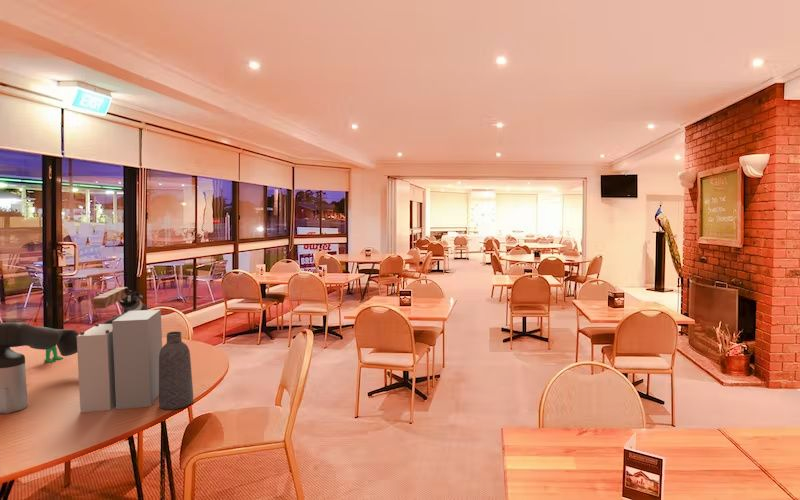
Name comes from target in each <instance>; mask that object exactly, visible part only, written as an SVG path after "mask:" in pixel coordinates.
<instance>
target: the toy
mask: <svg viewBox="0 0 800 500" xmlns="http://www.w3.org/2000/svg"><path fill="white" fill-rule="evenodd" d="M26 347H29V346H28V345H26ZM51 352H52V356H53V357H50V356H51ZM63 359H64V357H63V356H59V355H58V347H57V345H55V346H54V347H52V348H50V349H46V350H45V359H44V360H43V362H46V363H53V362H56V360H63Z"/></svg>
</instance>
